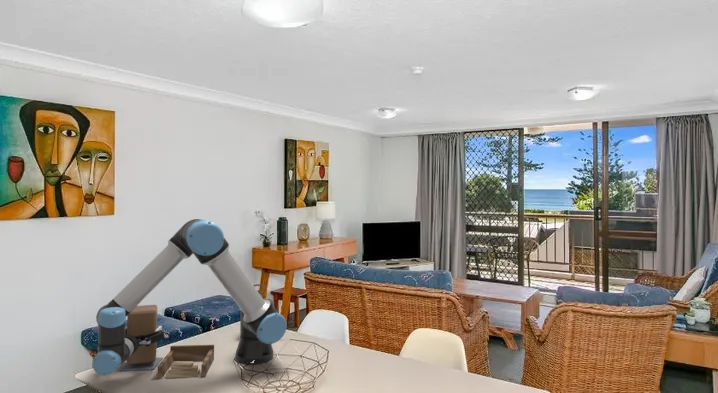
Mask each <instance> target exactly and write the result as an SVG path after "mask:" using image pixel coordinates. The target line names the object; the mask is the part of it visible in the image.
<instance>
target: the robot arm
mask: <svg viewBox="0 0 718 393" xmlns="http://www.w3.org/2000/svg"><path fill="white" fill-rule="evenodd" d="M167 242H168V243H167V245H166V246H165V247H164V248H163V250H161V251H160V252H159V253H158V254H157V255H156V256H155V257H154V258H153V259H152V260H151V261H150V262H149V263H148V264H147V265H146V266H145V267H144V268H143V269H142V270H141V271H140V272H139V273H138V274H137V275H135V276H134V277H133V279H132V280H130V282H129V283H127V284H126V285H125V287H124V288H122V289H121V290H120V292H118V293H117V294H116V295H115V296H114V297H113V298H112V299H111V300H110V301H109V302H108V303H107V304H105V305H103V306H101V307H100V308H99V309H98V311H97V312H96V317H95V318H96V320H95V321H96V323H97V328H98V331H97V332H98V342H97V353H96V355H95V356H94V358H93V360H92V363H91V364H92V368H93V370H94V372H95V373H96V374H99V375H101V376H108V375H110V374H112V373H115V371H117V370H118V369H120V367H121V366H122V365H123V364H124V363H125V362H126V360H127V359H128V358H129V357H130V356H131V355H132V354H133V353H134V352H135V351H136V350H137V348H138V346H141V345H143V344H145V345H146V346H150V345H151V344H153V343H155V342H159V341H162V340H164V339H165V331H163V326H162V325H159V326H157V329H156V330H155V332H153V333H150V334H146V335H138V336H132V335H129V334H127V326H126V322H127V315H128V314H129V313H130V312H131V311H132V310H133V309H134V308H135V307H136V306H139V304H140V303H141V302H142V301H143V300H144V299H146V298H147V297H148V295H149V294H150V293H151V292H152V291H153V290H154V289H155V288H156V287H157V286H158V285H159V284H160V283H162V281H163V280H164V279H165V278H166V277H167V276H169V275H170V273H171V272H173V270H174V269H175V268H177V266H178V265H179V264H180V263H181V262H182V261H183V260H184V259H185V260H186V259H189V258H190V257H191V256H192V255H194V257H195V258H196V259H197V261H198V262H199V263H200V265H206V266H208V268H209V269H210V271H211V272H212V273H213V274H214V276H215V277H216V278H217V280H218V281H219V282H220V283H221V285H222V287H224V289H225V291H226V292H227V294H229V296H230V297H231V298H232V300H233V301H234V302H235V304H236V305H237V306H238V308H239V312H240V317H241V318H240V324H239V327H240V329H239V331H240V332H239V333H240V335H239V336H240V337H239V342H238V345H237V347H236V350H235V354H234V357H235V358H234V360H235V361H236V362H238V363H241V364H244V365H245V364H246V365H249V364H248V363H250V362H252V361H253V360H255V361H254V364H253V365H255V364H262V363H267V362H269V361H271V360H272V359H273V358H274V348H273V345H274V344H275V343H277V342H280V340H281V339H282V338H283V337H284V336H285V334H286V332H287V327H288V326H287V325H288V324H287V320H286V317H284V315H282V313H280V312H278V310H277V309H276V308H275V305H274V306H273V305H272V304H271V302H270V301H269V300H263V298H262V297H261V295H262V294H261V293H260V294H261V295H260V294H259V293H258V291H257V289H256V286H253V285H254V284H253V283H252V281H251V280H250V278H249V277H248V276H247V275H246V273H245V272H244V271H243V269H242V268H241V266H240V265H239V264H238V262H237V261H236V260H235V257H233V255H232V254H231V252H230V251H229V248H230V244H229V242H228V241H227V240H226V237H225V235H224V232H223V230H222V228H221V227H220V226H219V224H217V223H215V222H214V221H211V220H208V219H199V218H196V219H195V218H194V219H190V220H189V221H187V222H186V223H184V224H183V225H182V226H181V227H180V228H179V229H178V231H176V232H175V233H174V234H173V236H172V237H171V238H170V239H169V240H167Z"/></svg>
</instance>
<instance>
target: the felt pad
mask: <svg viewBox="0 0 718 393" xmlns="http://www.w3.org/2000/svg"><path fill="white" fill-rule="evenodd" d="M163 359H164V357H156V360H155V361H154V362H149V363H140V364H131V365H128V364H127V363H125V364H124V365H123V366H122V367H121V368H119V372H133V371H134V372H136V371H137V372H139V371H140V372H141V371H154V370H156V369H157V368H158V365H159V364H160V363H161V361H162V360H163Z"/></svg>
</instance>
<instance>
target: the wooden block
mask: <svg viewBox="0 0 718 393" xmlns="http://www.w3.org/2000/svg"><path fill="white" fill-rule="evenodd" d="M126 322H127V323H126V327H127V334H129V335H132V336H138V335H146V334H150V333H153V332H155V330H156V329H157V328H158V305H157V304H146V305H145V304H144V305H137V306H136V307H135V308H134V309H133V310H132V311H131V312H130V313H129V314H128V315H127V316H126ZM157 342H158V341H157ZM157 342H155V343H153V344H151V345H150V346H146V345H145V344H143V345H141V346H138V348H137V350H136V351H135V352H134V353H133V354H132V355H131V356H130V357H129V358H128V359H127V360H126V361H125V362H126V363H127V364H128V365H131V364H140V363H149V362H154V361H155V360H156V358H157V349H158V348H157ZM126 363H125V364H126Z"/></svg>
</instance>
